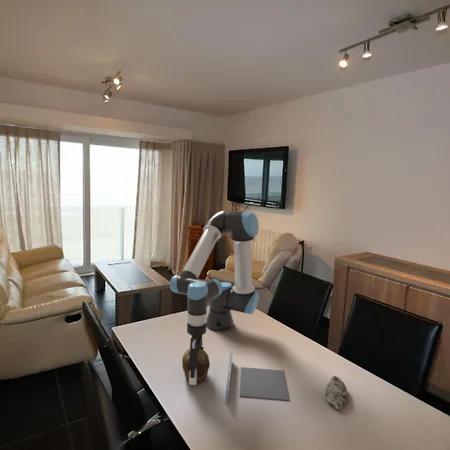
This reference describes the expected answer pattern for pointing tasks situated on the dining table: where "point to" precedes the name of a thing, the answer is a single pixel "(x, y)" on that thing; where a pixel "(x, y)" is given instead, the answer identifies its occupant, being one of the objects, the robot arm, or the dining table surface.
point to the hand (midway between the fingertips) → (195, 374)
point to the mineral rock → (336, 392)
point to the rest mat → (263, 384)
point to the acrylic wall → (228, 378)
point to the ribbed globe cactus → (201, 365)
